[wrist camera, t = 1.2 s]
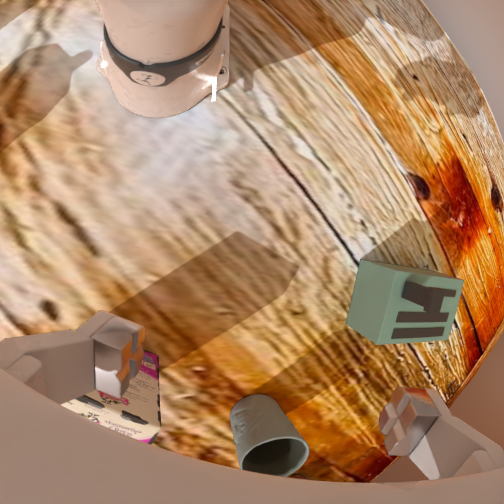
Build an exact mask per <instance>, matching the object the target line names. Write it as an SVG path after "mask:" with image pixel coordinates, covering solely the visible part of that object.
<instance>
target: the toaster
mask: <svg viewBox="0 0 504 504" xmlns="http://www.w3.org/2000/svg"><path fill="white" fill-rule="evenodd" d="M405 281H407V282H415V283H418V284H420V285H423V286H426V287H436V288H442V289H444V290H445V295H444V299H443V302H442V306H441V310H440V313H428V312H425V311H423V309H424V307H422V306H420V305H418V304H415V303H413V302H411V301H408V300H406V299H403V298H401V297H402V292H403V288H404V284H405ZM463 283H464V280H462V279H458V278H455V277H452V276H448V275H445V274H441V273H438V272H434V271H431V270H426V269H419V268H413V267H407V266H401V265H394V264H388V263H382V262H375V261H369V260H363V259H360V264H359V268H358V273H357V278H356V282H355V287H354V291H353V296H352V300H351V304H350V308H349V312H348V316H347V320H346V324H347V325H348V326H350V327H351V328H353V329H354V330H356V331H357V332H359V333H360V334H362V335H363V336H365V337H366V338H368V339H369V340H371V341H372V342H374V343H375V344H377V345H379V344H399V343H414V342H428V341H439V340H448V337H449V334H450V331H451V328H452V324H453V321H454V318H455V314H456V310H457V307H458V303H459V299H460V295H461V291H462V287H463Z"/></svg>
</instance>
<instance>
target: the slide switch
mask: <svg viewBox="0 0 504 504" xmlns="http://www.w3.org/2000/svg"><path fill="white" fill-rule="evenodd" d="M444 295H445V290H444V289H442V288H436V287H426V286H423V285H420V284H418V283H415V282H407V281H405V284H404V288H403V292H402V297H401V298H403V299H406V300H408V301H411V302H413V303H415V304H418V305H420V306H422V307H424V309H423V311H425V312H428V313H440V310H441V306H442V302H443V299H444Z"/></svg>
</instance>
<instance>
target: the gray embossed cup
mask: <svg viewBox="0 0 504 504" xmlns="http://www.w3.org/2000/svg"><path fill="white" fill-rule="evenodd" d="M230 423H231V427H232V431H233V435H234V442H235V443H236V451H237V455H238V461H239V466H240V470H245V471H250V472H256V473H261V474H267V475H274V476H280V477H286V476H288V475H290V474H292V473H293V472H295V471H296V470H297V469H299V468H300V467H301V466H302V465H303V464H304V462H305V461H306V459H307V457H308V454H309V446H308V444H307V442H306V441H305V440H304V439H303V437H302V436H301V435H300V434H299V432H298V431H297V430H296V429H295V427H294V426H293V424H292V423H291V421H289V419H288V417H287V416H286V415H285V413H284V412H283V411H282V410H281V408H280V406H279V405H278V403H277V402H276V401H275V400H274V399H273V398H271V397H269V396H267V395H262V394H256V395H250V396H247V397H245V398H243V399H241V400H240V401H239V402H237V403H236V404H235V405H234V407H233V408H232V410H231V413H230Z"/></svg>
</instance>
